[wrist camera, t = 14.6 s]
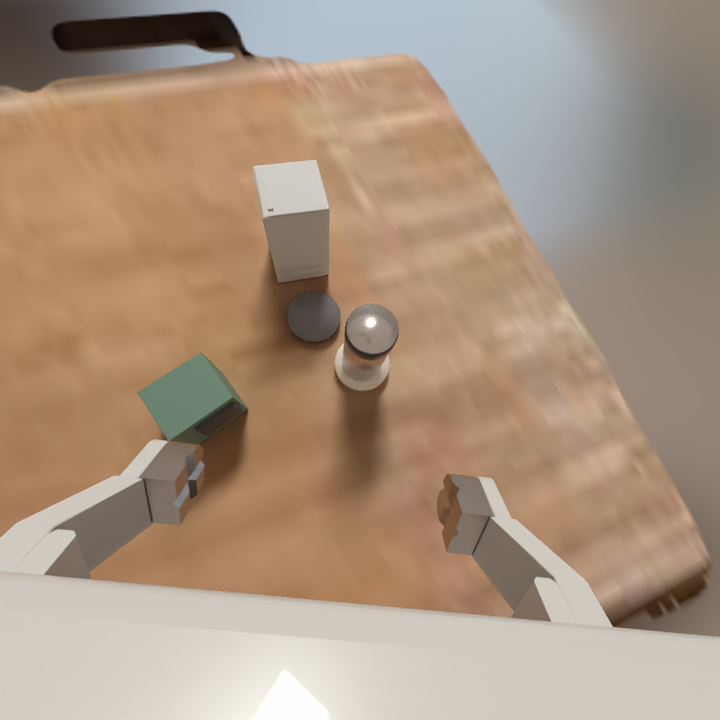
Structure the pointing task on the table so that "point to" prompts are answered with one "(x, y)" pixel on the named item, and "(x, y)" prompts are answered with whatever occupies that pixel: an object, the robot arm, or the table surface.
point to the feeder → (192, 401)
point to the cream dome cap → (357, 384)
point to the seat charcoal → (313, 317)
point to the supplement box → (294, 218)
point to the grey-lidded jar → (368, 341)
